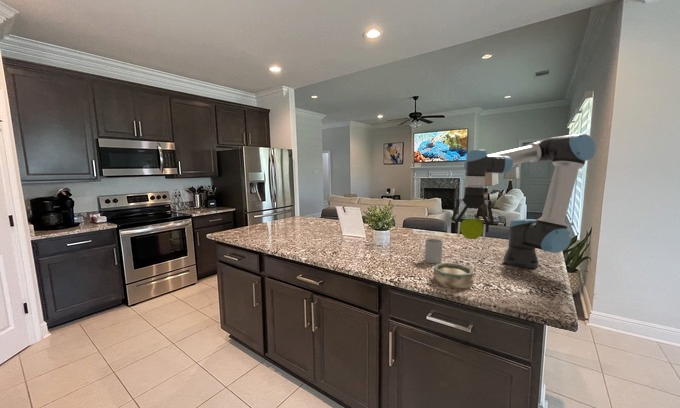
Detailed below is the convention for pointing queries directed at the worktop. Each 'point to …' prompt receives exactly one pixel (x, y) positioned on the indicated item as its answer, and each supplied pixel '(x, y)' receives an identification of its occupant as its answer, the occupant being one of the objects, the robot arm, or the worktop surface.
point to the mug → (433, 251)
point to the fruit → (471, 228)
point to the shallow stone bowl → (453, 275)
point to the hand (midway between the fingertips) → (470, 238)
